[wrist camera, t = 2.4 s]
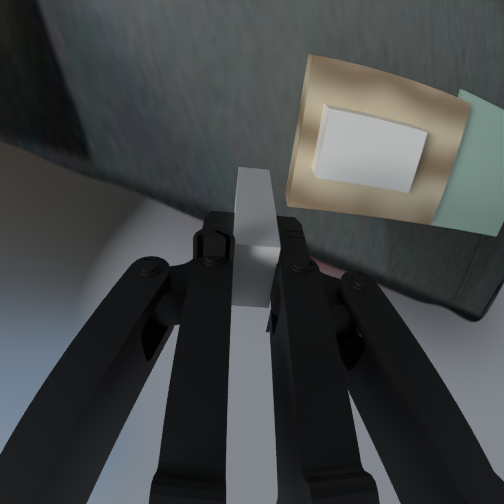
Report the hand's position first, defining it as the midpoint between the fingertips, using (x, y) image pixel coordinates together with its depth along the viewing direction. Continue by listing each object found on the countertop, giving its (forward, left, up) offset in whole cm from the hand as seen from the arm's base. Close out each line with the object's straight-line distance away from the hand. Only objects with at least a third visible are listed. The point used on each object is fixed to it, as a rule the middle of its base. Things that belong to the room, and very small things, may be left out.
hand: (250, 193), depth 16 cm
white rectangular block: (0, +10, -12) cm, 15 cm away
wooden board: (0, +12, -14) cm, 19 cm away
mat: (0, +27, -14) cm, 31 cm away
